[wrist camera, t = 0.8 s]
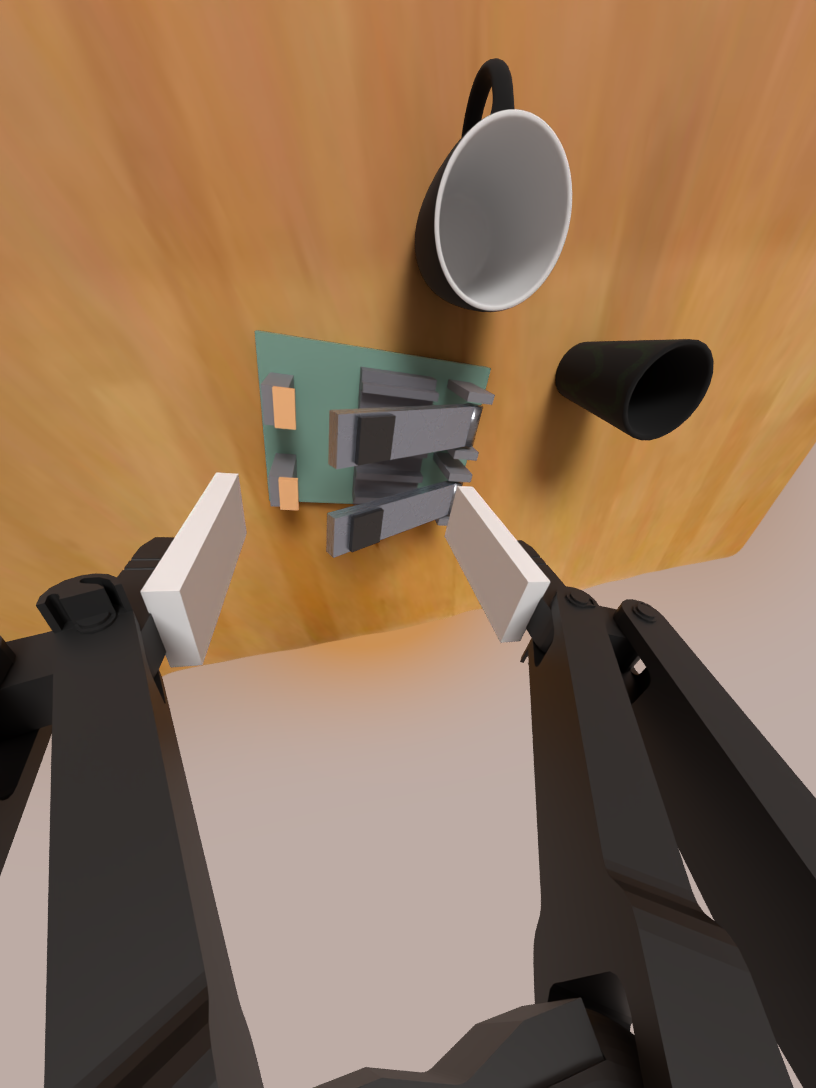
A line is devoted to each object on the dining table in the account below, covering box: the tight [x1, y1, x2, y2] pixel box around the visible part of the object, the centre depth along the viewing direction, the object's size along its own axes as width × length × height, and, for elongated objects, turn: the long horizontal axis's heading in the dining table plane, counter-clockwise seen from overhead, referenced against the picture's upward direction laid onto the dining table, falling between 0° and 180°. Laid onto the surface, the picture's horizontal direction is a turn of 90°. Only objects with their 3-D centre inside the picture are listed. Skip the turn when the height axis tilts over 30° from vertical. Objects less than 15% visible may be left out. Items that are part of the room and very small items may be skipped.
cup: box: [556, 339, 713, 440], centre depth 32 cm, size 8×8×12 cm
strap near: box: [328, 403, 483, 469], centre depth 27 cm, size 16×4×2 cm
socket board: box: [255, 330, 495, 526], centre depth 33 cm, size 22×16×8 cm
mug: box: [415, 58, 572, 312], centre depth 23 cm, size 12×9×10 cm
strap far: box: [326, 480, 463, 558], centre depth 31 cm, size 16×4×2 cm
